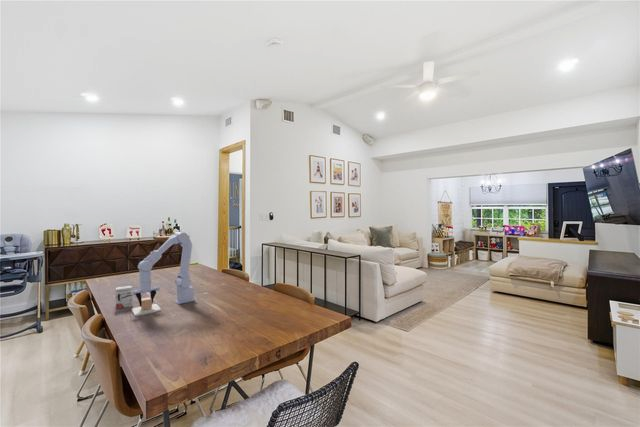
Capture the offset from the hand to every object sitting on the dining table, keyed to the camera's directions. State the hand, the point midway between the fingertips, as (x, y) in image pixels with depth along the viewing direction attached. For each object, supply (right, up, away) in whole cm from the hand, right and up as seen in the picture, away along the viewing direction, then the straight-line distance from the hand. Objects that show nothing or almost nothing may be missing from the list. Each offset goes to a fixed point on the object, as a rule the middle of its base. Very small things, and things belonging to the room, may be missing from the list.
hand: (146, 304), depth 171 cm
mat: (0, -3, 0) cm, 3 cm away
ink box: (-18, -4, +8) cm, 20 cm away
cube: (0, -2, 0) cm, 2 cm away
